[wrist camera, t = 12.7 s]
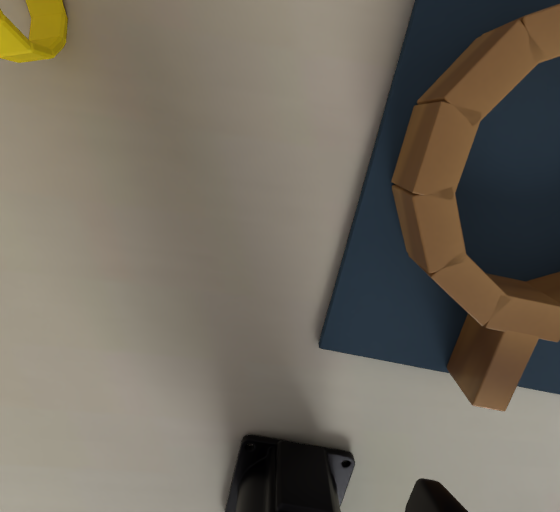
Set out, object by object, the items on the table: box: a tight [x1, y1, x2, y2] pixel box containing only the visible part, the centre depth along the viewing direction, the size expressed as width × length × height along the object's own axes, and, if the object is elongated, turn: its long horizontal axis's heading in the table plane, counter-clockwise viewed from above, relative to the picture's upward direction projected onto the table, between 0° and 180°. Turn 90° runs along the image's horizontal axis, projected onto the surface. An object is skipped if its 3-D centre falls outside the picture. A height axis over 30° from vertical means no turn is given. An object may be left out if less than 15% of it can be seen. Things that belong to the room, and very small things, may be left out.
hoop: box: [391, 4, 560, 411], centre depth 17 cm, size 17×13×3 cm
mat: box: [319, 0, 560, 394], centre depth 18 cm, size 20×15×1 cm
